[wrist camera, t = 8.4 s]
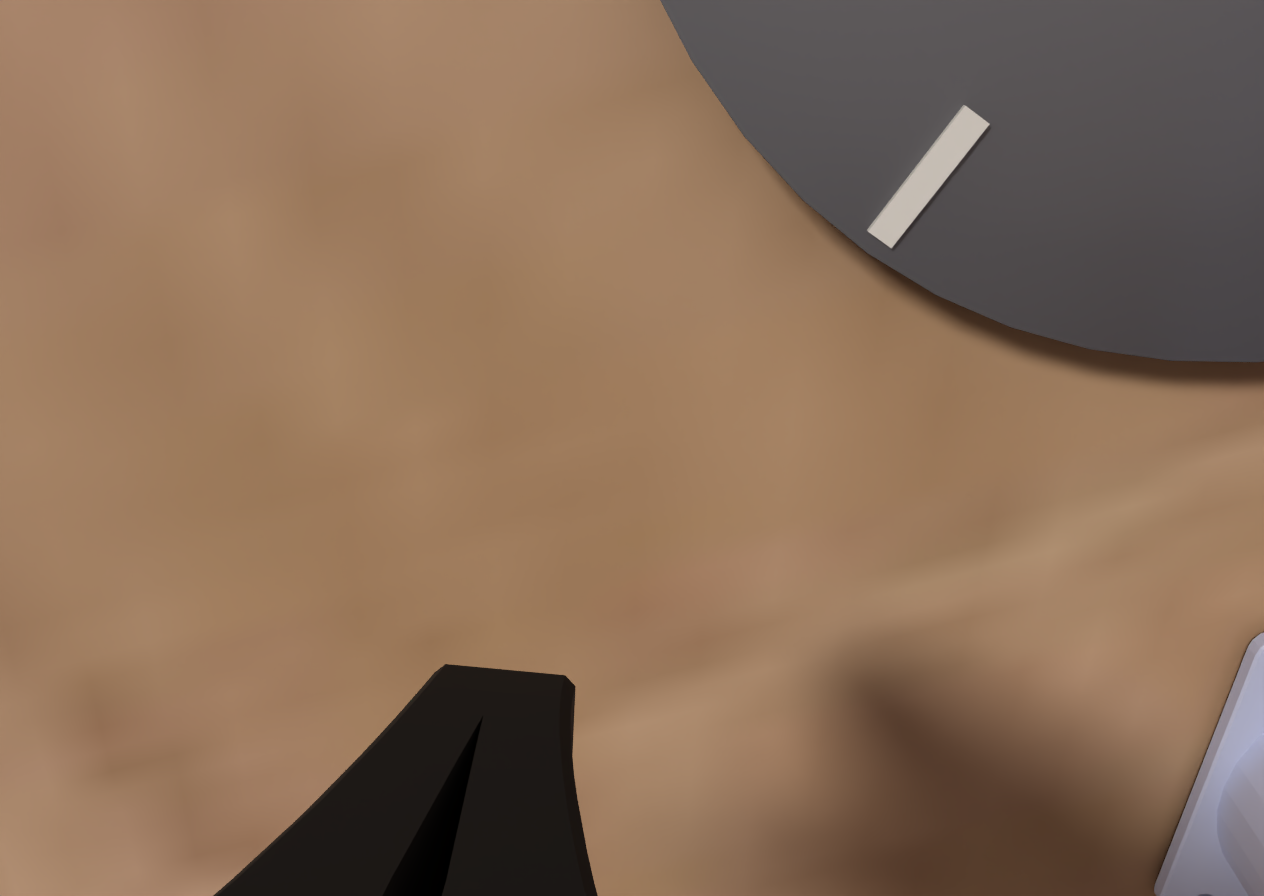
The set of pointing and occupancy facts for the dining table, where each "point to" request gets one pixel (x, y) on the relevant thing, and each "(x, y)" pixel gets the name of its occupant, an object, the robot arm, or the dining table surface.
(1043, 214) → the tuner dial
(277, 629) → the dining table surface
